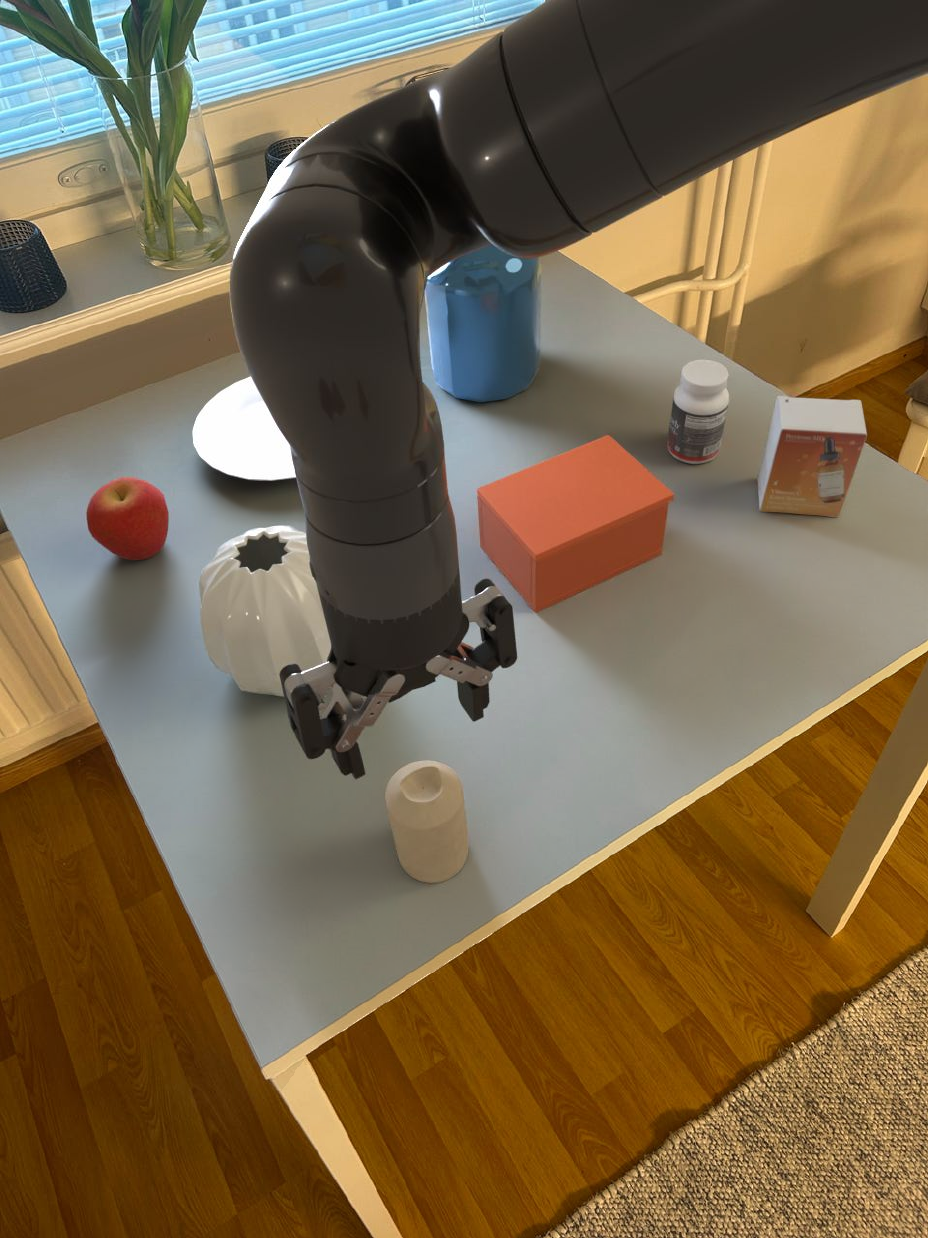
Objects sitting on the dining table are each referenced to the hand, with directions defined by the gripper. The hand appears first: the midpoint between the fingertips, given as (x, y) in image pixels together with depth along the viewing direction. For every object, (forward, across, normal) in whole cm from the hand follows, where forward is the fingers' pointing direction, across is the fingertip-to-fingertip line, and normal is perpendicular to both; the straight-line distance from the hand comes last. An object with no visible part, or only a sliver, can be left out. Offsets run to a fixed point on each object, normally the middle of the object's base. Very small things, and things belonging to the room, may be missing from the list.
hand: (414, 738), depth 61 cm
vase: (+16, -2, +24) cm, 29 cm away
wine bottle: (+16, +35, +53) cm, 65 cm away
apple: (+16, -10, +46) cm, 50 cm away
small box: (+15, +51, +16) cm, 56 cm away
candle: (+16, 0, 0) cm, 16 cm away
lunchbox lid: (+9, +27, +22) cm, 36 cm away
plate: (+16, +10, +55) cm, 58 cm away
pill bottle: (+15, +47, +28) cm, 57 cm away
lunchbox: (+15, +27, +22) cm, 38 cm away
